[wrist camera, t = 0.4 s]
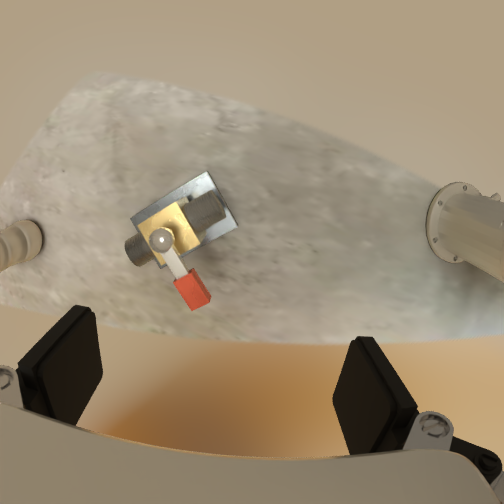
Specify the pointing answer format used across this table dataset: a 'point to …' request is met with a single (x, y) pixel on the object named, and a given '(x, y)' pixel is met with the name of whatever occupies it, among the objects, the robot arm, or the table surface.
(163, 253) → the lever
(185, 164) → the table surface
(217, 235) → the valve
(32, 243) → the plastic bottle
